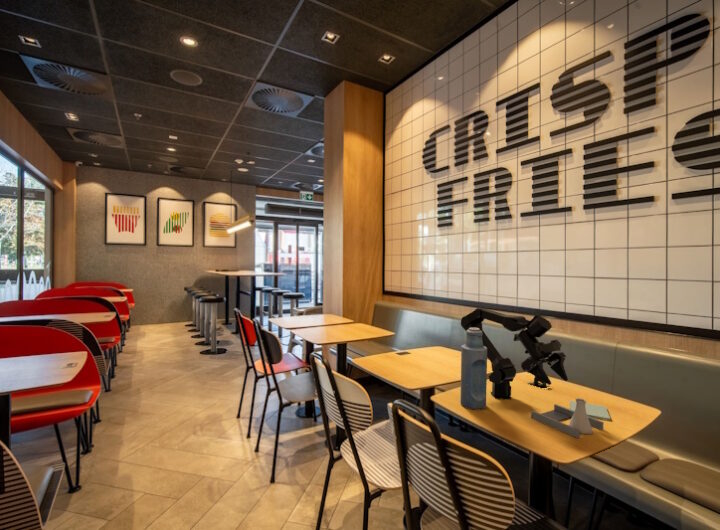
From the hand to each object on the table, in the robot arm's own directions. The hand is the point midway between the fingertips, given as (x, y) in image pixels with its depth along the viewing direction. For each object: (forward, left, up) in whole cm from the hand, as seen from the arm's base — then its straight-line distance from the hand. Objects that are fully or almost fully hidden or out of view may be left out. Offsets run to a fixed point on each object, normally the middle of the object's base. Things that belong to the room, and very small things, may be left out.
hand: (558, 382), depth 130 cm
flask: (+4, -7, -14) cm, 16 cm away
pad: (+15, +9, -13) cm, 22 cm away
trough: (+1, -3, -13) cm, 14 cm away
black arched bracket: (+10, +36, -14) cm, 40 cm away
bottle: (-27, +12, -14) cm, 32 cm away
